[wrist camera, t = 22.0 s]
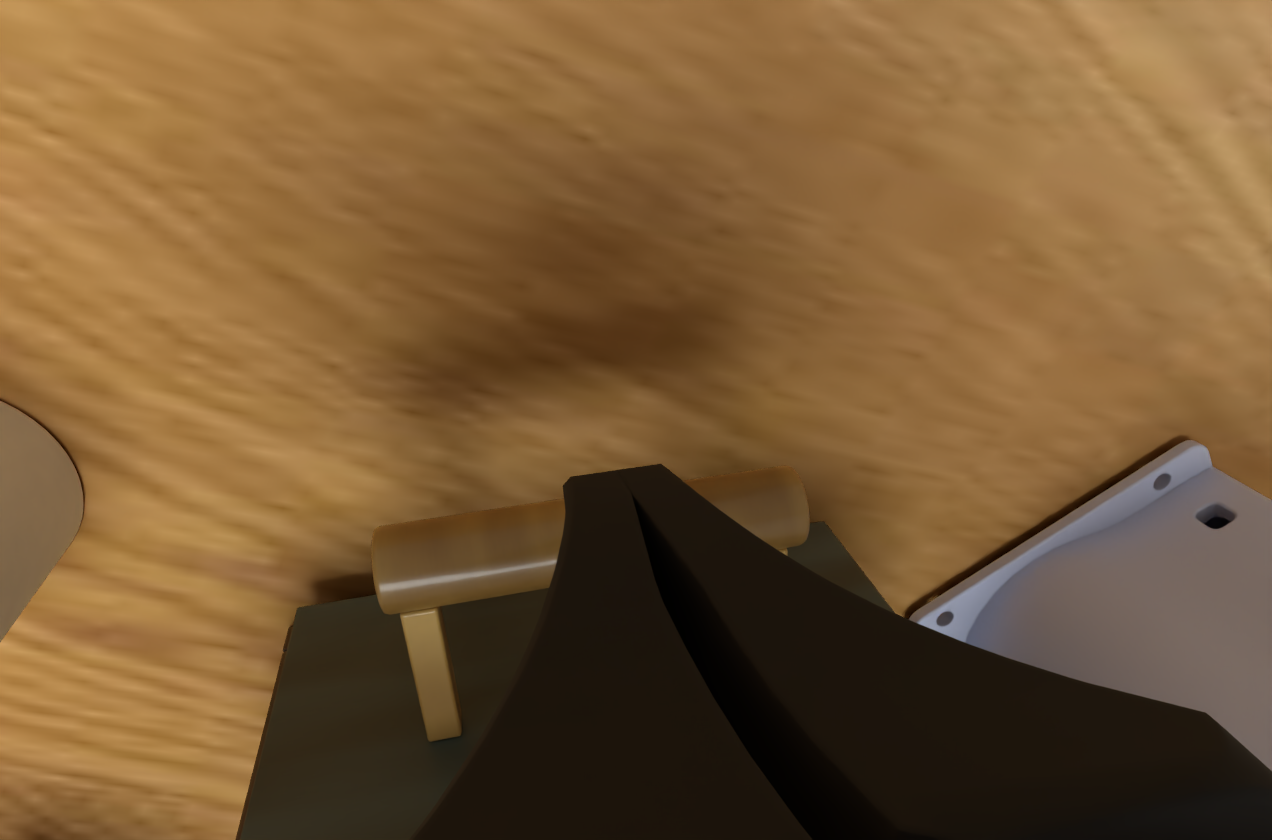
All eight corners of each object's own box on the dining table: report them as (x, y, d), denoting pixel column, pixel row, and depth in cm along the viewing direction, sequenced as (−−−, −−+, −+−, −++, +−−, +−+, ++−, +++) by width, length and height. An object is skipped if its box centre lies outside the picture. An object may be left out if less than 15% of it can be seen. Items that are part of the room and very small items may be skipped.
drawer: (244, 434, 16) (122, 687, 10) (837, 358, 18) (1037, 527, 12) (403, 964, 24) (389, 1280, 18) (797, 868, 26) (903, 1122, 20)
